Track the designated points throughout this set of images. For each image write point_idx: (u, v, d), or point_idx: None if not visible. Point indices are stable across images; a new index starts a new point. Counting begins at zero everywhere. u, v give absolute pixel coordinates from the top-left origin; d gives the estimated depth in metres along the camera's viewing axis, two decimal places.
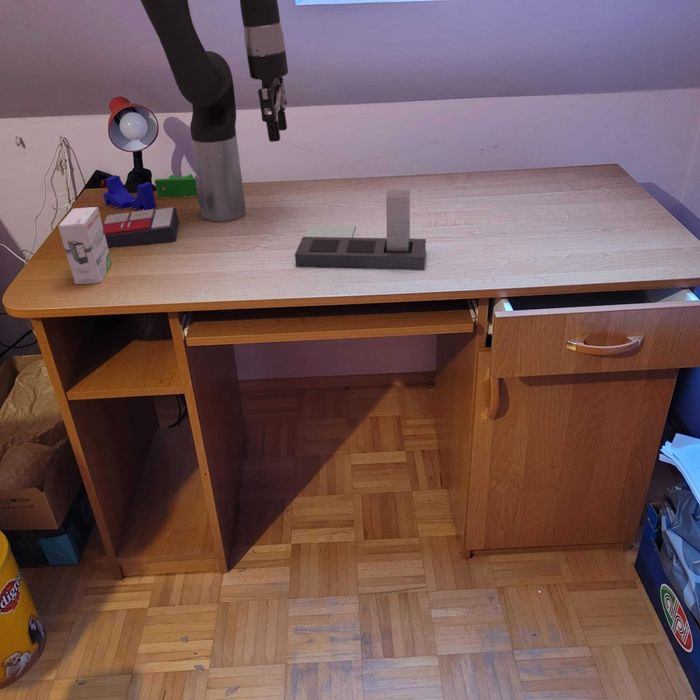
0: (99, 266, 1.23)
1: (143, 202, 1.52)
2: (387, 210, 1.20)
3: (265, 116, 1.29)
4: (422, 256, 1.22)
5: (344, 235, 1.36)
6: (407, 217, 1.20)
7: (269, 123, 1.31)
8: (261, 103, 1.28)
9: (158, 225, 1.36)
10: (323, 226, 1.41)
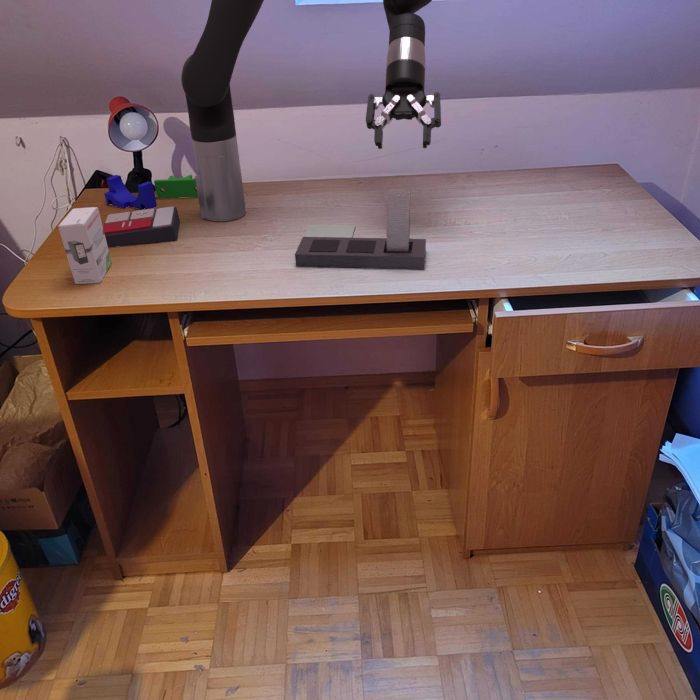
0: (99, 266, 1.23)
1: (144, 201, 1.52)
2: (387, 210, 1.20)
3: None
4: (422, 256, 1.22)
5: (344, 235, 1.36)
6: (407, 217, 1.20)
7: (431, 127, 1.26)
8: None
9: (159, 224, 1.37)
10: (323, 226, 1.41)
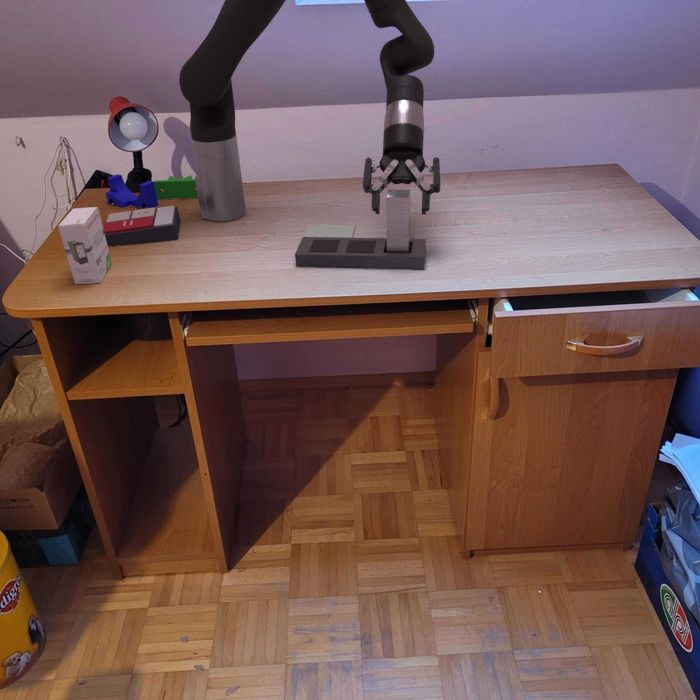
0: (99, 266, 1.23)
1: (145, 201, 1.52)
2: (387, 210, 1.20)
3: None
4: (422, 256, 1.22)
5: (344, 235, 1.36)
6: (407, 217, 1.20)
7: (430, 193, 1.22)
8: (439, 170, 1.22)
9: (160, 223, 1.37)
10: (323, 226, 1.41)
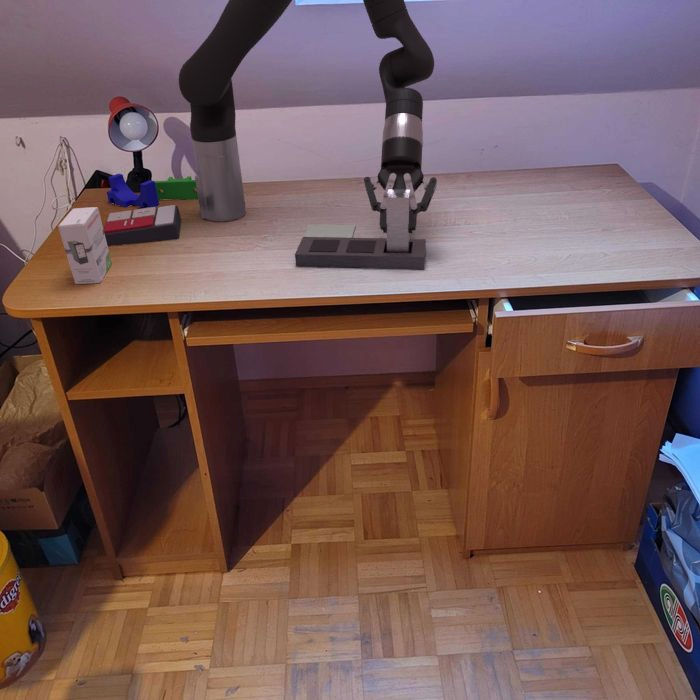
0: (99, 266, 1.23)
1: (146, 200, 1.53)
2: (387, 210, 1.20)
3: (426, 203, 1.22)
4: (422, 256, 1.22)
5: (344, 235, 1.36)
6: (407, 217, 1.20)
7: (417, 212, 1.22)
8: (432, 191, 1.22)
9: (161, 222, 1.38)
10: (323, 226, 1.41)
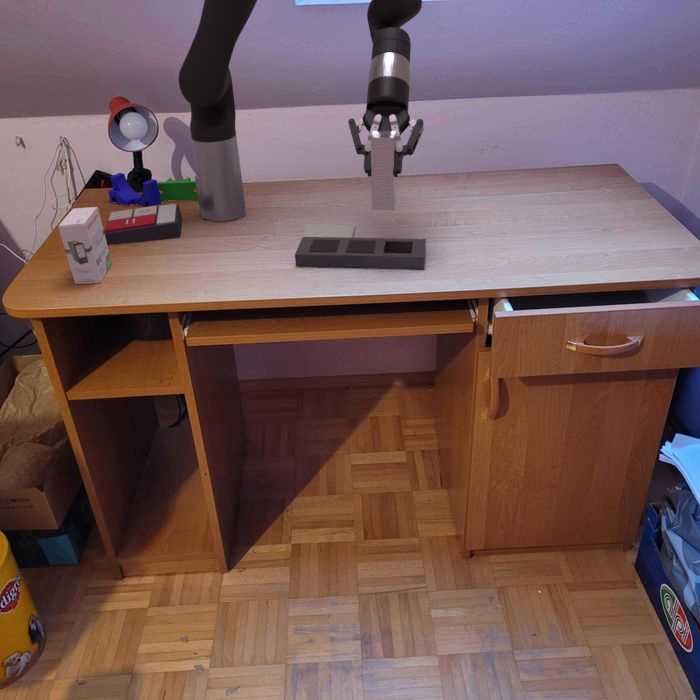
0: (99, 266, 1.23)
1: (149, 199, 1.53)
2: (371, 151, 1.16)
3: None
4: (422, 256, 1.22)
5: (344, 235, 1.36)
6: (392, 159, 1.16)
7: (403, 154, 1.18)
8: (418, 133, 1.17)
9: (163, 221, 1.38)
10: (323, 226, 1.41)
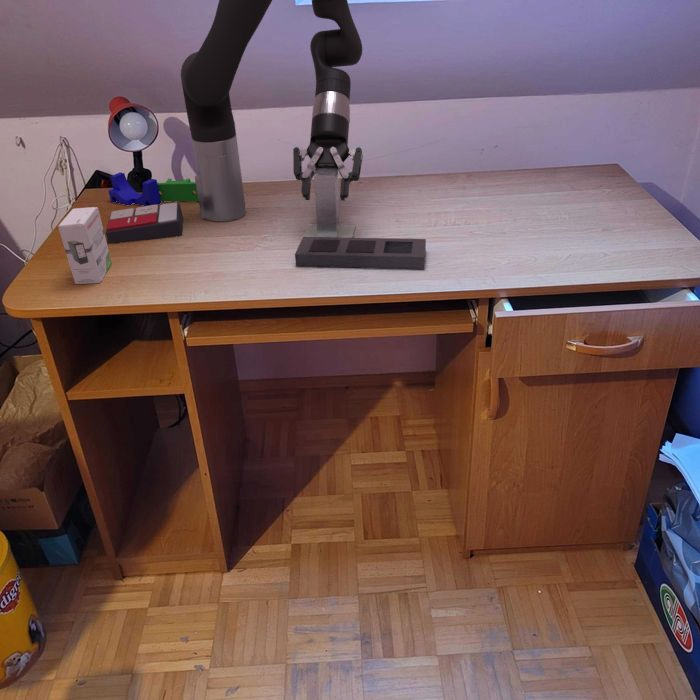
0: (99, 266, 1.23)
1: (148, 198, 1.53)
2: (315, 187, 1.30)
3: None
4: (422, 256, 1.22)
5: (344, 235, 1.36)
6: (334, 194, 1.30)
7: (349, 180, 1.31)
8: (360, 160, 1.31)
9: (165, 219, 1.39)
10: None
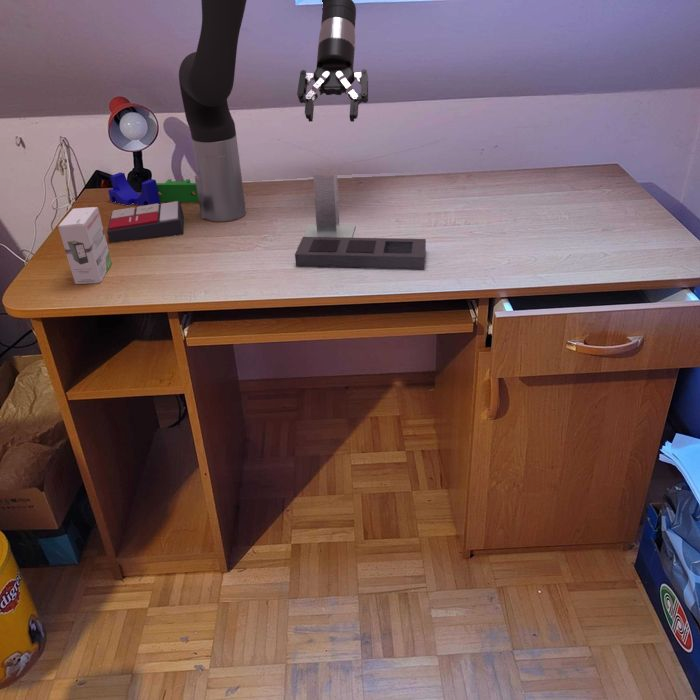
0: (99, 266, 1.23)
1: (147, 199, 1.53)
2: (314, 187, 1.30)
3: None
4: (422, 256, 1.22)
5: (344, 235, 1.36)
6: (333, 194, 1.30)
7: (358, 101, 1.34)
8: (367, 81, 1.34)
9: (166, 218, 1.39)
10: None
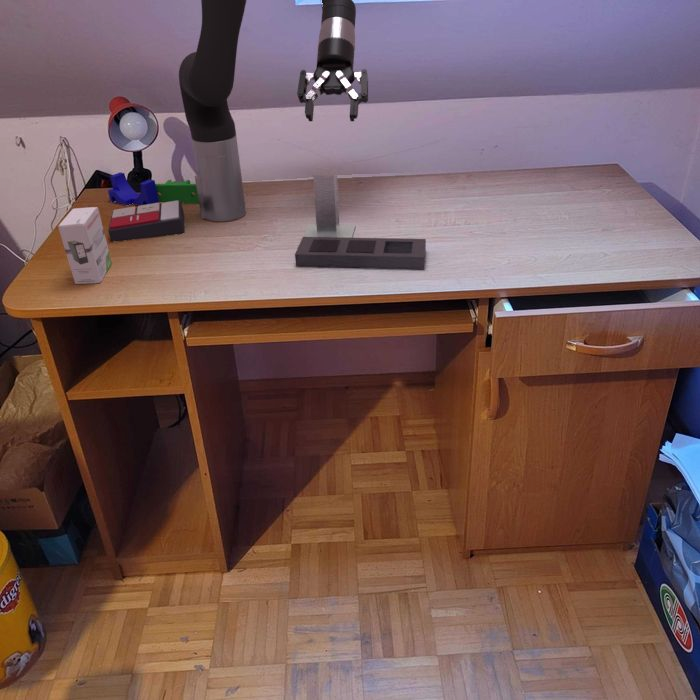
0: (99, 266, 1.23)
1: (146, 199, 1.53)
2: (314, 187, 1.30)
3: None
4: (422, 256, 1.22)
5: (344, 235, 1.36)
6: (333, 194, 1.30)
7: (358, 101, 1.34)
8: (367, 81, 1.34)
9: (167, 217, 1.40)
10: None
